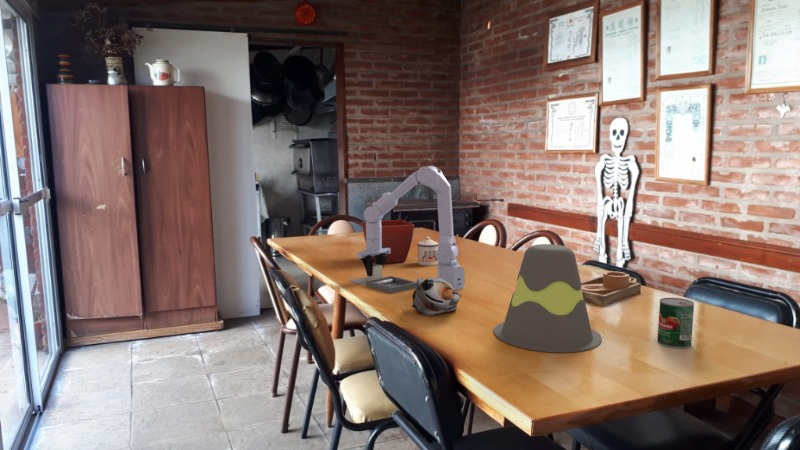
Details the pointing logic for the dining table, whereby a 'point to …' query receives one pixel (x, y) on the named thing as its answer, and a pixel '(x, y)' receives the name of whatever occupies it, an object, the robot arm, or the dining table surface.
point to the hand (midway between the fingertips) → (374, 274)
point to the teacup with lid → (427, 252)
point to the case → (391, 284)
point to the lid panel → (360, 281)
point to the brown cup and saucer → (608, 283)
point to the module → (376, 272)
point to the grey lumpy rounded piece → (434, 296)
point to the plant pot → (395, 239)
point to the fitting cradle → (609, 297)
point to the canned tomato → (675, 322)
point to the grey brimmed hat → (548, 304)
